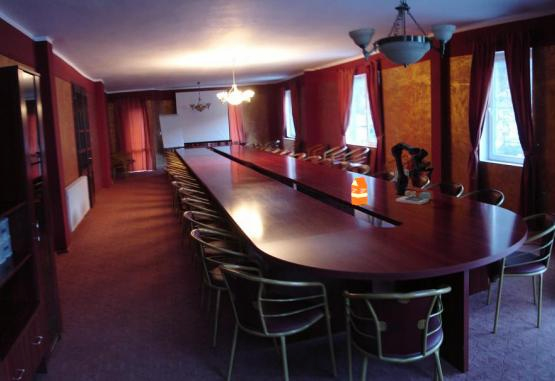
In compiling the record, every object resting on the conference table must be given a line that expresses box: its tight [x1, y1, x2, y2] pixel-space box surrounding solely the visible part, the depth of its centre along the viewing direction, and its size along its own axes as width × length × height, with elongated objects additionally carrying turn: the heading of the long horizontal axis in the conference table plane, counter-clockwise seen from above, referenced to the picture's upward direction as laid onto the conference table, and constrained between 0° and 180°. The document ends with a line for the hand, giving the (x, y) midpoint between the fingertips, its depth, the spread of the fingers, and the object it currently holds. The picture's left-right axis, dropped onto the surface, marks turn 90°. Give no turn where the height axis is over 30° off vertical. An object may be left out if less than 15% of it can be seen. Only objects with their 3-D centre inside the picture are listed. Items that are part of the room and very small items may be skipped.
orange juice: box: [350, 176, 368, 206], centre depth 354 cm, size 8×9×20 cm
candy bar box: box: [393, 169, 410, 190], centre depth 408 cm, size 11×5×16 cm, turn 62°
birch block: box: [404, 190, 417, 197], centre depth 372 cm, size 6×6×5 cm
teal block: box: [418, 191, 432, 201], centre depth 364 cm, size 6×6×5 cm
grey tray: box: [395, 195, 429, 205], centre depth 357 cm, size 20×12×3 cm, turn 47°
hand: (425, 181), depth 354 cm, fingers open, 9 cm apart
